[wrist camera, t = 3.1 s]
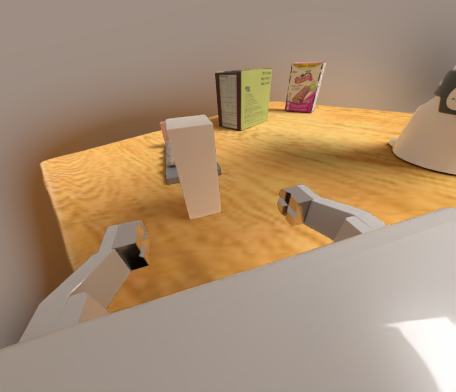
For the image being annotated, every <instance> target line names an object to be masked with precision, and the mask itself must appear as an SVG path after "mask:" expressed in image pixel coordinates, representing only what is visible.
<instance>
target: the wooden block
mask: <svg viewBox="0 0 456 392" xmlns="http://www.w3.org/2000/svg"><path fill="white" fill-rule="evenodd" d="M166 130H167V134H168V138H169V142H170V146H171V149H172V153H173V157H174V161H175V165H176V168H177V172H178V176H179V180H180V184H181V188H182V191H183V195H184V199H185V203H186V207H187V210H188V214H189V218H190V220H191V219H195V218H200V217H204V216H208V215H212V214H216V213H220V212H221V202H220V191H219V181H218V170H217V160H216V149H215V139H214V128H213V123H212V122H211V121H210V120H209V119H208V118H207V117H206V116H205V115H198V116H189V117H180V118H172V119H166Z"/></svg>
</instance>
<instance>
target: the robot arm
mask: <svg viewBox="0 0 456 392" xmlns="http://www.w3.org/2000/svg"><path fill="white" fill-rule="evenodd" d="M434 94H435V95H436V96H435V98H433V99H432V100H431V101H429V102H428V103H425V104H423V105H421V106H420V107H419V108H418V109H417V110H416V112H415V113H414V114H413V116H412V117H411V119H410V120H409V122H408V123H407V125H406V126H405V128H404V129H403V131H402V132H401V134H400V135H399V137H398V138H393V139H391V140H390V141H389V145H391V146H392V147H393V153H394V154H395V155H397V156H398V157H400V158H401V159H403V160H405V161H408V162H410V163H413V164H415V165H418V166H421V167H425V168H428V169H432V170H436V171H440V172H445V173H450V174H456V66H455V67H454V69H453V70H450V71H449V72H448V73H447V74H446V76H445V77H444V79H443V80H441V82H440V84H439V87H438V88H437V90H436V91H435V93H434ZM279 195H280V198H279V199H278V203H277V205H278V209H279V211H280V213H281V214H283V215H285V216H286V220H287V221H288V222H289V224H290V225H291V226H295V225H299V224H303V223H304V224H305V225H307V226H309V227H310V228H312V229H314V230H316V231H318V232H319V233H321V234H323V235H325V236H327V237H329V238H330V239H332V240H334V241H333V243H331V244H328V245H325V246H322V247H319V248H316V249H312V250H309V251H306V252H303V253H300V254H297V255H294V256H290V257H287V258H284V259H281V260H278V261H275V262H272V263H268V264H265V265H262V266H259V267H256V268H253V269H249V270H246V271H243V272H240V273H237V274H234V275H231V276H227V277H224V278H221V279H218V280H215V281H212V282H208V283H205V284H202V285H199V286H196V287H193V288H190V289H186V290H183V291H180V292H177V293H174V294H171V295H167V296H164V297H161V298H158V299H155V300H152V301H149V302H145V303H142V304H139V305H136V306H133V307H130V308H126V309H123V310H120V311H117V312H114V313H110V312H109V311H108V310H106V309H107V307H108V306H109V304H110V303H111V301H112V300H113V298H114V297H115V295H116V294H117V292H118V291H119V289H120V288H121V286H122V285H123V283H124V282H125V280H126V279H127V277H128V276H129V274H130V273H131V271H132V270H135V269H139V268H142V267H145V266H149V258H150V254H149V252H148V250H149V248H150V245H151V242H150V236H149V233H148V231H147V230H145V229H144V226H145V225H144V223H143V221H142V220H137V221H132V222H126V223H121V224H117V225H112V226H109V227H108V228H107V230H106V232H105V235H104V237H103V240H102V243H101V245H100V248H99V251H98V253H94V254H93V255H92V256H91V257H90V258H89V259H88V260H87V261H86V262H84V263H83V264H82V265H81V266H80V267H79V268H78V269H77V270H76V271H75V272H74V273H73V274H71V275H70V276H69V277H68V278H67V279H66V280H65V281H64V282H63V283H62V284H61V285H59V286H58V288H56V289H55V290H54V291H53V292H52V293H51V294H50V295H49V296H48V297H46V298H45V299H44V300H43V301H42V302H41V303H40V304H39V306H38V308H37V310H36V311H35V313H34V315H33V317H32V319H31V320H30V323H29V324H28V326H27V328H26V330H25V332H24V333H23V335H22V337H21V339H20V341H19V342H18V343H16V344H13V345H10V346H7V347H3V348H0V392H456V208H442V209H438V210H435V211H432V212H429V213H426V214H423V215H420V216H416V217H413V218H410V219H407V220H404V221H401V222H398V223H394V224H391V225H386V224H385V223H384V222H382V221H381V220H379V219H378V218H376V217H375V216H373V215H372V214H370V213H369V212H368V211H365V210H362V209H358V208H355V207H352V206H349V205H346V204H342V203H339V202H336V201H333V200H330V199H327V198H321V197H319V196H318V195H317V194H316V193H314V192H313V191H312V190H311V189H309V188H308V187H307V186H306V185H304V184H301V185H296V186H293V187H289V188H284V189H281V190H280V192H279Z"/></svg>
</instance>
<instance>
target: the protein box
mask: <svg viewBox="0 0 456 392" xmlns="http://www.w3.org/2000/svg"><path fill="white" fill-rule="evenodd" d="M271 74H272V68H268V69H267V68H265V69H245V70H232V71H222V72H215V78H216V89H217V90H216V91H217V104H218V117H219V126H221V127H226V128H230V129H235V130H239V131H242V130H245V129H247V128H250V127H253V126H255V125H258V124H260V123H263V122H265V121H267V118H268V108H269V96H270V86H271Z"/></svg>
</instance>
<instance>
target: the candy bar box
mask: <svg viewBox="0 0 456 392" xmlns="http://www.w3.org/2000/svg"><path fill="white" fill-rule="evenodd" d="M325 65H326V62H303V63H302V62H300V63H292V67H291V74H290V80H289V87H288V94H287V101H286V106H285V111H293V112H305V113H312V112H313V111H314V109H315V105H316V101H317V97H318V93H319V89H320V85H321V81H322V77H323V73H324V69H325Z"/></svg>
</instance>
